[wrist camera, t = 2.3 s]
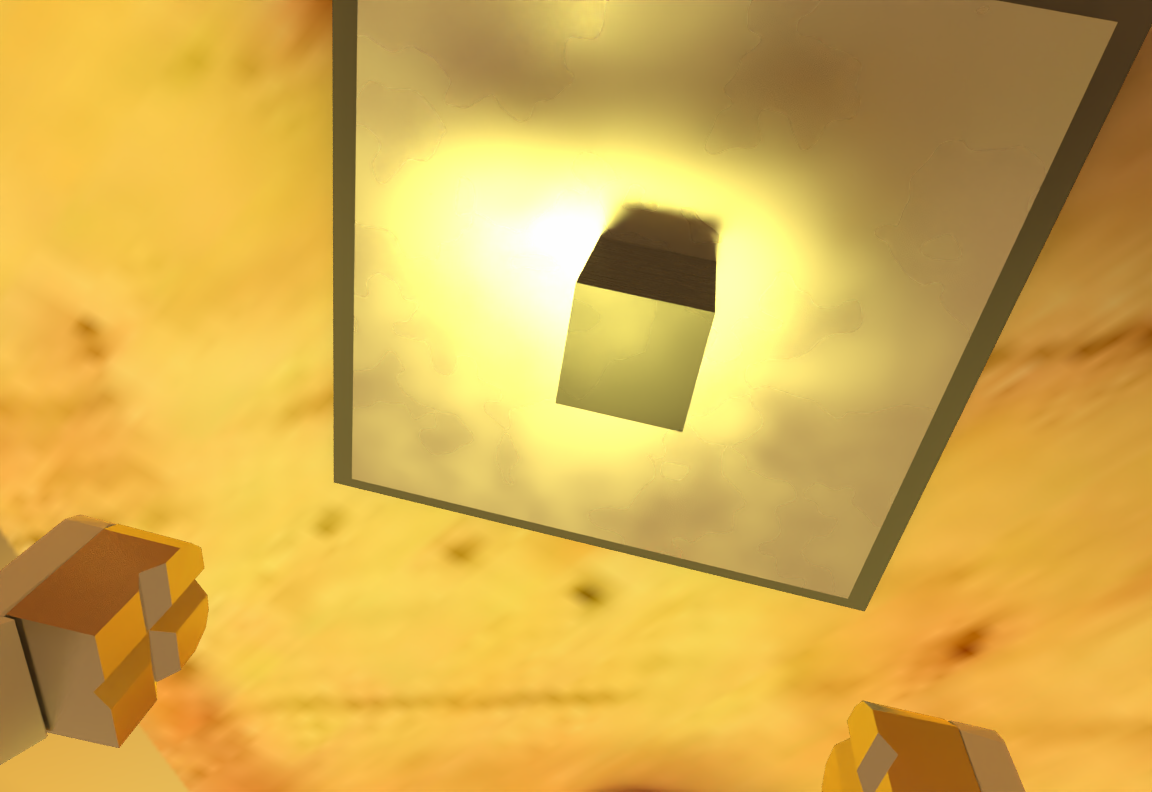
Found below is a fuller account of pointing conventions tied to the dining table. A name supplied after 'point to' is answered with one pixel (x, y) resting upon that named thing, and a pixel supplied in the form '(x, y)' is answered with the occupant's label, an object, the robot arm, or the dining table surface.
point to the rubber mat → (1135, 9)
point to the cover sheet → (688, 254)
